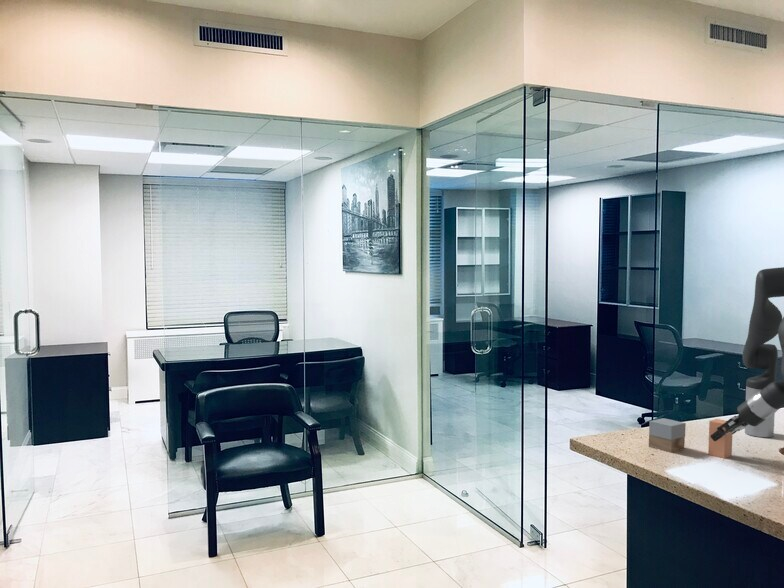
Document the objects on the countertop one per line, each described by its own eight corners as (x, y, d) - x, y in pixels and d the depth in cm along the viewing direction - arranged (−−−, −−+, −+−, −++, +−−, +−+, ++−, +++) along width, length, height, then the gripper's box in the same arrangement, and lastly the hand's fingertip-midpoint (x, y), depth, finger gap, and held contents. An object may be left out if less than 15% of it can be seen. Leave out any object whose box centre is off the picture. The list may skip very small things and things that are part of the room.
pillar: (716, 451, 206) (717, 418, 205) (731, 455, 202) (732, 421, 201) (708, 454, 203) (709, 420, 202) (724, 458, 199) (725, 424, 198)
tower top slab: (663, 431, 215) (663, 418, 215) (685, 436, 208) (685, 423, 208) (649, 434, 211) (649, 421, 210) (671, 439, 204) (671, 426, 204)
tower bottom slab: (662, 443, 216) (662, 430, 215) (684, 449, 209) (684, 436, 209) (648, 447, 211) (649, 434, 211) (671, 453, 204) (671, 439, 204)
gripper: (759, 395, 199) (722, 423, 209) (738, 400, 190) (700, 430, 200) (777, 415, 195) (738, 443, 205) (756, 421, 186) (716, 450, 196)
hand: (719, 436), depth 202 cm, fingers open, 8 cm apart
